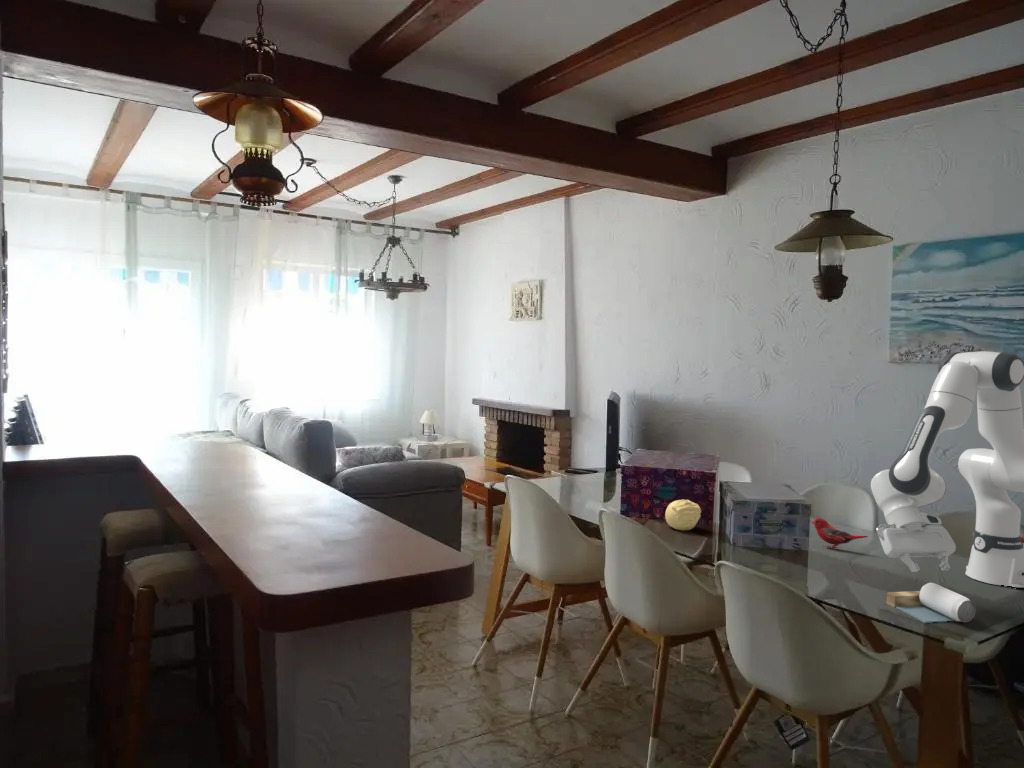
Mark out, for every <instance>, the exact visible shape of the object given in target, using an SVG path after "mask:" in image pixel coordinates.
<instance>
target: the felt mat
mask: <svg viewBox="0 0 1024 768" xmlns="http://www.w3.org/2000/svg"><path fill="white" fill-rule="evenodd" d="M895 609H897V610H898V609H899V610H898V611H900V610H901V612H902V613H904V614H907V615H908V616H910V617H912V618H914V619H915V620H917V621H920V622H921V623H923V624H933V622H938V623H948V622H947V621H956V620H954V619H952V618H950V617H947V616H945V615H943V614H941V613H939V612H937V611H935V610H933V609H931V608H929V607H927V606H925V605H920V606H899V607H895ZM956 622H957V621H956Z"/></svg>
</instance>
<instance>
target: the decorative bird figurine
mask: <svg viewBox="0 0 1024 768" xmlns="http://www.w3.org/2000/svg"><path fill="white" fill-rule="evenodd" d="M811 524H813V525H814V528H815V530H816V533H817V535H818V536H819V538H820V539H821V540H823V541H824V542H825V543H827V544H830V545H824V546H825V548H827V547H832V548H831V549H833V548H837V549H838V547H837V546H839V545H843V544H847V543H848V544H849V542H851V541H854V540H857V539H863V538H868V536H867V535H851V534H850V533H848V532H847V531H844V530H843V529H841V528H837V527H835V526H833V525H831V524H829V522H828V521H826V520H825V519H823V518H821V517H816V518H815V519H814V520H813V521H812V522H811Z"/></svg>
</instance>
